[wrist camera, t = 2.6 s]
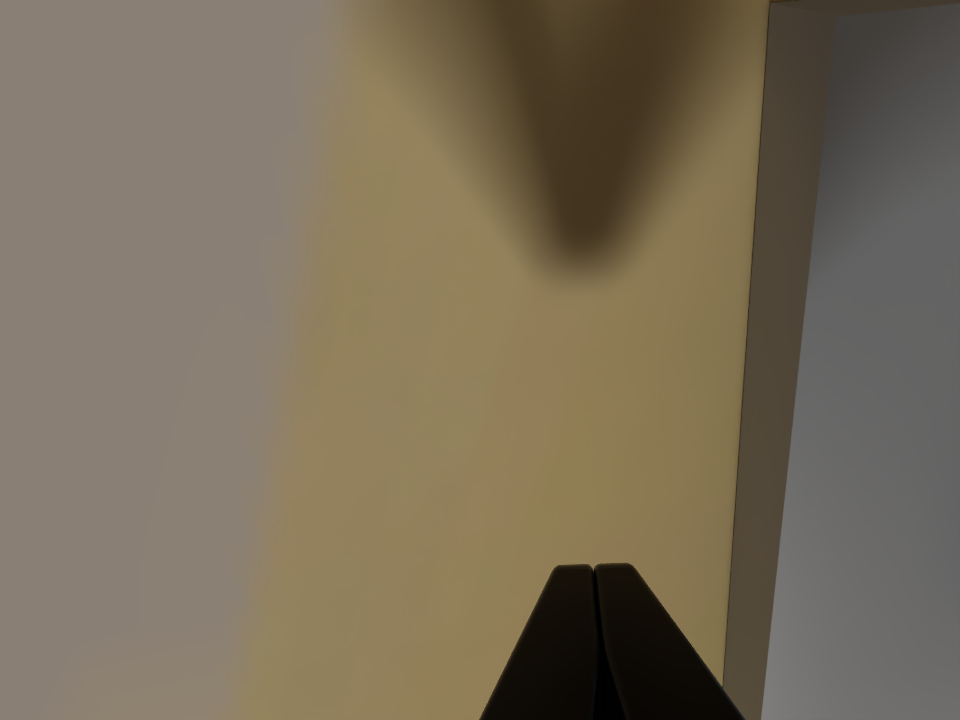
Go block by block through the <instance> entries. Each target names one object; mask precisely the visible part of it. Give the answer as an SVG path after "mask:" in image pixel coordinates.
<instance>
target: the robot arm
mask: <svg viewBox="0 0 960 720" xmlns="http://www.w3.org/2000/svg"><path fill="white" fill-rule="evenodd" d="M479 720H746V719H745V718H744V717H743V715H742V714H741V712H740V711H739V710H738V708H737V707H736V706H735V704H734V703H733V701H732V700H731V699H730V697H729V696H728V695H727V693H726V692H725V691H724V689H723V688H722V686H721V685H720V684H719V682H718V681H717V680H716V678H715V677H714V675H713V674H712V673H711V671H710V670H709V669H708V667H707V666H706V664H705V663H704V662H703V660H702V659H701V658H700V656H699V655H698V654H697V652H696V651H695V649H694V648H693V647H692V645H691V644H690V643H689V641H688V640H687V638H686V637H685V636H684V634H683V633H682V632H681V630H680V629H679V627H678V626H677V625H676V623H675V622H674V621H673V619H672V618H671V617H670V615H669V614H668V612H667V611H666V610H665V608H664V607H663V606H662V604H661V603H660V601H659V600H658V599H657V597H656V596H655V595H654V593H653V592H652V590H651V589H650V588H649V586H648V585H647V584H646V582H645V581H644V580H643V578H642V577H641V575H640V574H639V573H638V571H637V570H636V569H635V568H634V566H632V565H631V564H629V563H607V564H598V565H596V566H595V568H594V573H593V569H592V567H591V566H590V565H588V564H576V565H558V566H557V567H555V568H554V569H553V571H552V573H551V575H550V577H549V579H548V581H547V583H546V585H545V587H544V589H543V591H542V593H541V595H540V597H539V599H538V601H537V603H536V605H535V607H534V609H533V611H532V613H531V615H530V617H529V619H528V621H527V623H526V626H525V628H524V630H523V632H522V634H521V636H520V638H519V640H518V642H517V644H516V646H515V648H514V650H513V652H512V654H511V656H510V658H509V660H508V662H507V664H506V666H505V668H504V670H503V672H502V674H501V676H500V678H499V680H498V682H497V685H496V687H495V689H494V691H493V693H492V695H491V697H490V699H489V701H488V703H487V705H486V707H485V709H484V711H483V713H482V715H481V717H480V719H479Z"/></svg>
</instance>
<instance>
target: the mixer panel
mask: <svg viewBox="0 0 960 720" xmlns="http://www.w3.org/2000/svg"><path fill="white" fill-rule="evenodd" d="M723 689H724V691H725V692H726V693H727V695H728V696H729V697H730V699H731V700H732V701H733V703H734V704H735V706H736V707H737V708H738V710H739V711H740V712H741V714H742V715H743V717H744V718H745V719H746V720H960V0H796V1H787V2H777V3H770V14H769V29H768V43H767V58H766V72H765V87H764V101H763V116H762V130H761V145H760V159H759V174H758V188H757V203H756V217H755V232H754V246H753V261H752V275H751V290H750V304H749V319H748V333H747V348H746V362H745V377H744V391H743V406H742V420H741V435H740V449H739V464H738V478H737V493H736V507H735V522H734V536H733V551H732V565H731V580H730V594H729V609H728V623H727V638H726V652H725V667H724V681H723Z"/></svg>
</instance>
